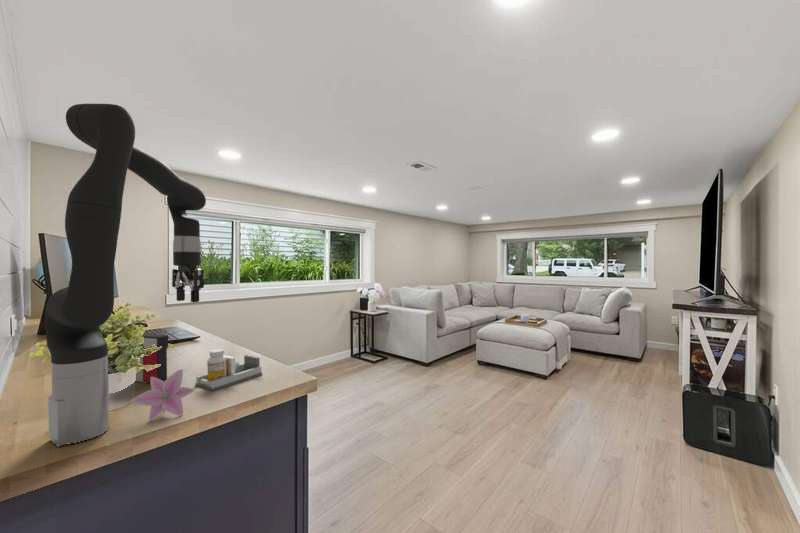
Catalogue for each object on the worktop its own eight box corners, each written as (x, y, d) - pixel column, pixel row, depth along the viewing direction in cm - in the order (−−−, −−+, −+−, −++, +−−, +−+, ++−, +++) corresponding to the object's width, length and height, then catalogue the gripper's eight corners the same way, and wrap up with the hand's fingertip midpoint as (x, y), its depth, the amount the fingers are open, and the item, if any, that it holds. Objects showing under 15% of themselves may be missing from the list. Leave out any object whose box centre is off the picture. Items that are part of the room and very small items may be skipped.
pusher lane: (213, 390, 102) (213, 372, 102) (195, 384, 107) (195, 367, 107) (262, 374, 116) (262, 358, 116) (244, 369, 121) (244, 354, 121)
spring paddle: (231, 380, 108) (231, 358, 108) (219, 376, 112) (219, 355, 112) (243, 376, 112) (243, 355, 112) (231, 373, 115) (231, 352, 115)
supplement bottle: (215, 377, 111) (214, 348, 110) (230, 377, 110) (229, 348, 110) (204, 383, 105) (203, 352, 105) (220, 384, 105) (219, 353, 105)
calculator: (129, 382, 109) (128, 335, 109) (142, 377, 113) (141, 333, 113) (156, 385, 106) (156, 337, 106) (169, 380, 111) (168, 334, 110)
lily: (124, 424, 83) (125, 396, 79) (156, 389, 94) (158, 363, 90) (174, 436, 85) (177, 409, 81) (200, 400, 95) (204, 375, 92)
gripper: (211, 250, 108) (212, 301, 108) (187, 251, 115) (188, 299, 115) (186, 250, 101) (187, 304, 102) (163, 250, 109) (163, 301, 109)
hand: (187, 301), depth 108 cm, fingers open, 8 cm apart
